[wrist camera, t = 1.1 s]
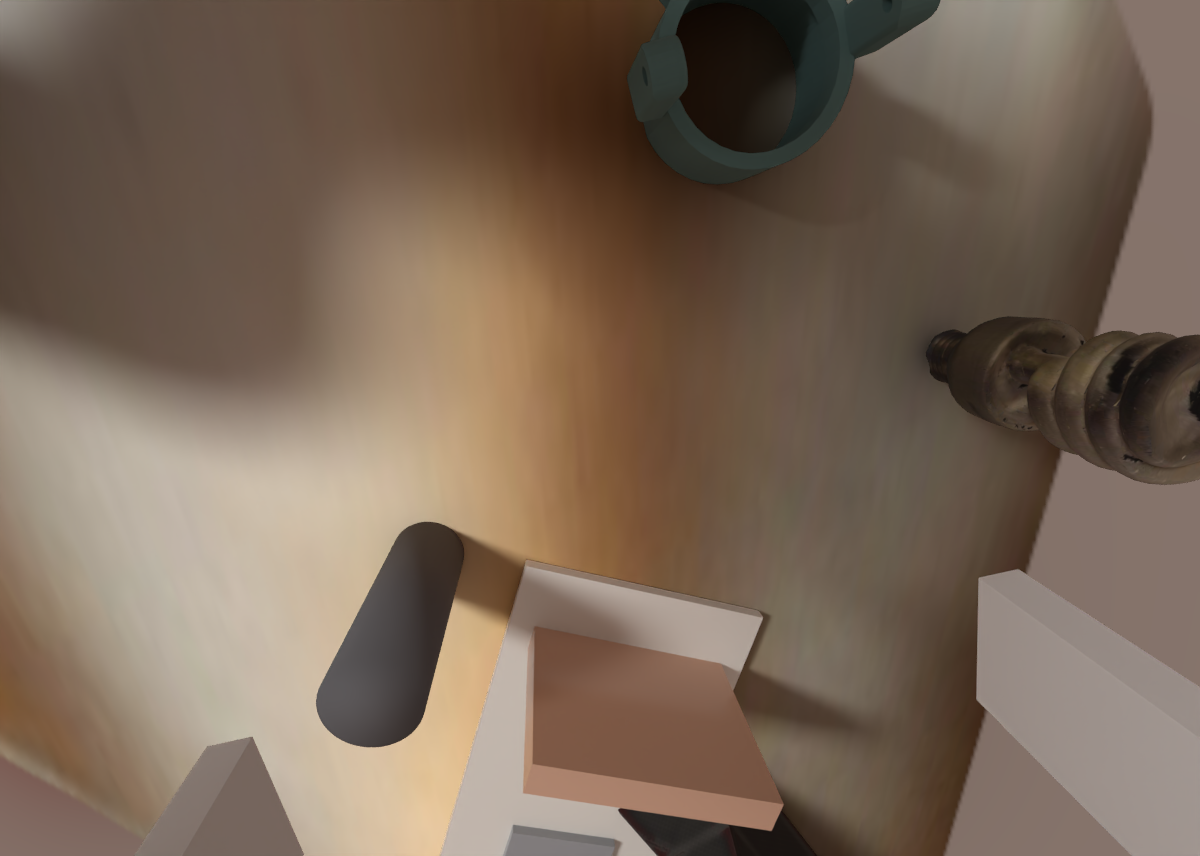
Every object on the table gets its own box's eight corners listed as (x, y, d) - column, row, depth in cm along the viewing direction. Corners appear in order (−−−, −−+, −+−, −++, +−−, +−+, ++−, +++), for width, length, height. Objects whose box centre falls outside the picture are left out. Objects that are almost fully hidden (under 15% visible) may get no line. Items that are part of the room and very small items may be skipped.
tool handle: (386, 576, 34) (307, 738, 23) (400, 514, 33) (326, 650, 22) (455, 591, 35) (413, 754, 23) (471, 530, 34) (435, 670, 22)
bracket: (840, 63, 29) (966, -23, 20) (730, 226, 31) (803, 210, 22) (696, -65, 27) (768, -220, 18) (586, 116, 29) (605, 51, 20)
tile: (526, 650, 35) (521, 795, 26) (534, 626, 35) (532, 764, 25) (711, 686, 37) (770, 833, 28) (720, 663, 37) (783, 804, 27)
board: (429, 889, 41) (425, 910, 39) (526, 559, 35) (525, 571, 33) (634, 914, 43) (637, 935, 42) (758, 610, 37) (766, 623, 36)
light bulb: (1004, 326, 34) (1352, 376, 19) (958, 415, 35) (1253, 524, 20) (921, 292, 32) (1223, 318, 18) (877, 384, 34) (1126, 477, 19)
